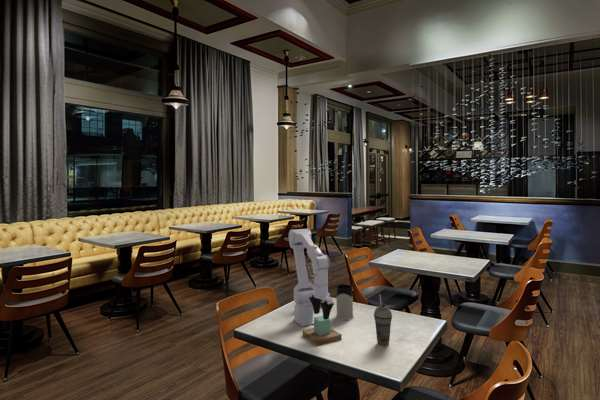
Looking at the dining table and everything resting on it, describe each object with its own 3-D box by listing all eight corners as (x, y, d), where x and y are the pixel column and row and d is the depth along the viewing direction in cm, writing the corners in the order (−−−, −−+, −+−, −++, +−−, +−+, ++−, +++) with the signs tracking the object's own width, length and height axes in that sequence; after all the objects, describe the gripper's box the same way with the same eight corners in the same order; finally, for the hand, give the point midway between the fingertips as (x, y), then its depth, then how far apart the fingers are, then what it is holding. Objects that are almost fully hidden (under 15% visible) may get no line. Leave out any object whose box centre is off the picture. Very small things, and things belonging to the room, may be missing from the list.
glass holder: (334, 319, 174) (334, 288, 173) (338, 309, 188) (337, 281, 187) (353, 320, 172) (352, 289, 172) (355, 310, 186) (354, 281, 185)
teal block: (314, 331, 155) (313, 317, 155) (324, 329, 157) (323, 315, 157) (320, 335, 150) (320, 321, 150) (330, 333, 153) (330, 319, 152)
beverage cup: (389, 349, 141) (388, 298, 140) (371, 345, 145) (370, 295, 144) (394, 342, 147) (394, 293, 147) (377, 338, 151) (377, 291, 150)
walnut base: (302, 335, 156) (302, 330, 156) (326, 329, 162) (326, 325, 162) (316, 345, 146) (316, 340, 145) (341, 339, 151) (341, 334, 151)
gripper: (338, 287, 148) (338, 319, 149) (320, 279, 161) (320, 309, 162) (323, 289, 145) (324, 323, 146) (306, 281, 158) (306, 312, 158)
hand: (321, 316), depth 153 cm, fingers open, 7 cm apart
